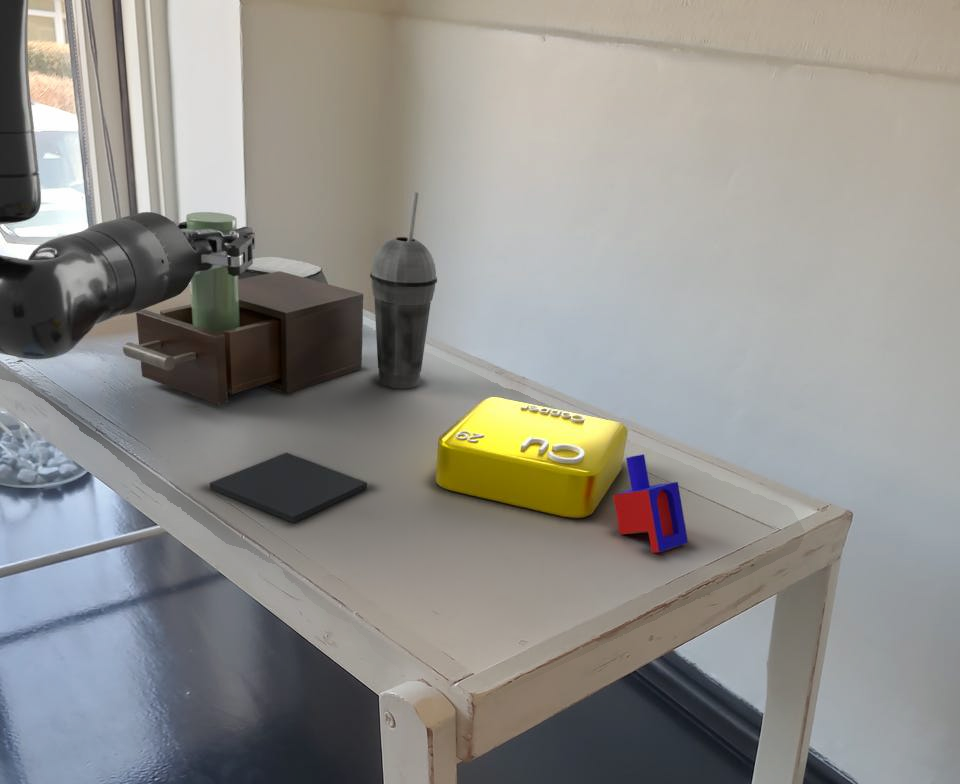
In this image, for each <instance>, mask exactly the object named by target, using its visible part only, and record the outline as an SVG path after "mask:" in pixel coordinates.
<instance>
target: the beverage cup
mask: <svg viewBox="0 0 960 784" xmlns="http://www.w3.org/2000/svg"><path fill="white" fill-rule="evenodd" d="M418 201H419V192H416V191H413V195H412V203H411V211H410V218H409V225H408V226H409V227H408V234H407V236H398V237H394V238H392V239H389V240H388V241H386V242H385V243H383V245H381V247H380V248H379V249H378V251H377V252H376V254H375V256H374V259H373V261H372V265H371V272H370V275H369V277H370V279H371V290H372V295H373V297H374V298H373V299H374V318H375V337H376V357H377V368H378V376H379V378H378V379H379V380H378V381H379V383H380V385H383V386H385V387H388V388H393V389H413V388H416V387H418V386H419V383H420V377H421V372H422V367H423V361H424V360H423V359H424V353H425V346H426V339H427V332H428V324H429V317H430V311H431V310H430V309H431V303H432V301H433V298H434V294H435V291H436V284H437V283H438V277H437V269H436V263H435V259H434V258H433V255H432V253H431V252H430V251H429V249H428V247H426V246H425V245H424V244H423V243H422V242H420V241H419V240H417V239H415V238H414V231H415V225H416V217H417V208H418Z"/></svg>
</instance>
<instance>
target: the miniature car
mask: <svg viewBox="0 0 960 784" xmlns="http://www.w3.org/2000/svg"><path fill="white" fill-rule="evenodd" d="M278 271H282V272H285V273H289V274H293V275H296V276H300V277H304V278H307V279H311V280H315V281H318V282H322V283H326V284H329V282H328V281H327V278H326V276H325V274H324V272H323V268H321V266H317V265H314V264H311V263H308V262H305V261H301V260H297V259H290V258H284V257H278V256H266V257H265V256H263V257H253V264H252V265H251V266H249V267H248V268H247V269H246V270H245V271H244V272H243V273H242V274H241V275H238V279H243V278H248V277H253V276H258V275H263V274H268V273H273V272H278Z"/></svg>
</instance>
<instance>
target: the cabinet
mask: <svg viewBox="0 0 960 784" xmlns="http://www.w3.org/2000/svg"><path fill="white" fill-rule="evenodd" d="M238 280H239V307H242V308H246V309H249V310H252V311H256V312H259V313H262V314H266V315H269V316H272V317H276V318H279V319H281V372H282V379H278V380H275V381H272V382H269V383H266V384H262V385H261V386H263V387H266V388H269V389H272V390H275V391H278V392H280V393H284V394H290V393H291V394H292V393H294V392H296V391H299V390H300V391H301V390H302V389H306V388H308V387H311V386H315V385H317V384H321V383H323V382H328V381H329V380H333V379H336V378H338V377H342V376H345V375H349V374H351V373H354V372H357V371H360V370H362V367H363V329H364V328H363V325H364V324H363V323H364V293H362V292H359V291H355V290H351V289H347V288H344V287H340V286H338V285H333V284H329V283H328V284H326V283H322V282H318V281H315V280H311V279H307V278H304V277H300V276H296V275H293V274H289V273H285V272H282V271H278V272H273V273H268V274H263V275H258V276H253V277H248V278H243V279H238Z"/></svg>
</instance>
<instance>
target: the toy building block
mask: <svg viewBox="0 0 960 784" xmlns="http://www.w3.org/2000/svg"><path fill="white" fill-rule="evenodd" d="M626 466H627V470H628V477H629V481H630V483H629V484H630V487H631V489H628V490H623V491H620V492H617V493H613V494H612V498H613V503H614V508H615V513H616V520H617V525H618V530H619V535H631V534H640V533H648V538H649V543H650V549H651V553H652V554H653V553H661V552H664V551H668V550H670V549H674V548H677V547H680V546H682V545H685V544H689V541H688V540H689V539H688V534H687V528H686V521H685V517H684V510H683V504H682V498H681V493H680V487H679V481H673V482H666V483H659V484H658V483H657V484H652V485H650V480H649V474H648V469H647V468H648V467H647V462H646V457H645V454H644V453H643V454H637V455H633V456H628V457H626Z"/></svg>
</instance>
